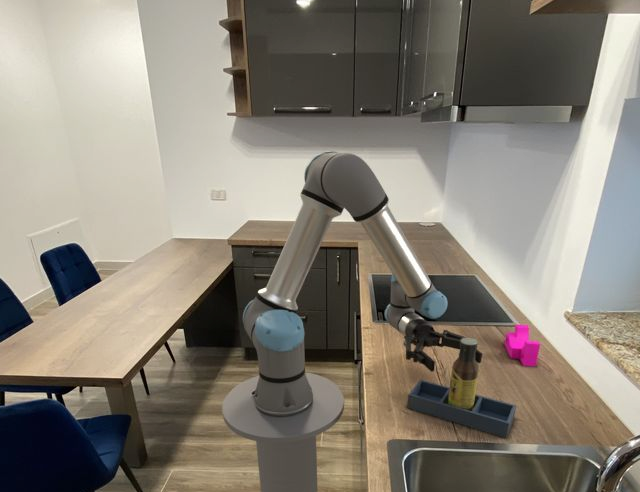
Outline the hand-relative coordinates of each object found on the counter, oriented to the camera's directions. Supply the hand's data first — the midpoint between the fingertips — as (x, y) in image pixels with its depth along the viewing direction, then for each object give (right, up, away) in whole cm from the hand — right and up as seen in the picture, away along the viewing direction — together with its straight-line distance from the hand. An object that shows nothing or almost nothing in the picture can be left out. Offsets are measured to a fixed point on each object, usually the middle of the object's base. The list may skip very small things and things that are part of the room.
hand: (457, 362), depth 111 cm
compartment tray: (+1, -13, +3) cm, 13 cm away
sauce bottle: (+1, -13, +2) cm, 13 cm away
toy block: (+29, 0, +33) cm, 44 cm away
